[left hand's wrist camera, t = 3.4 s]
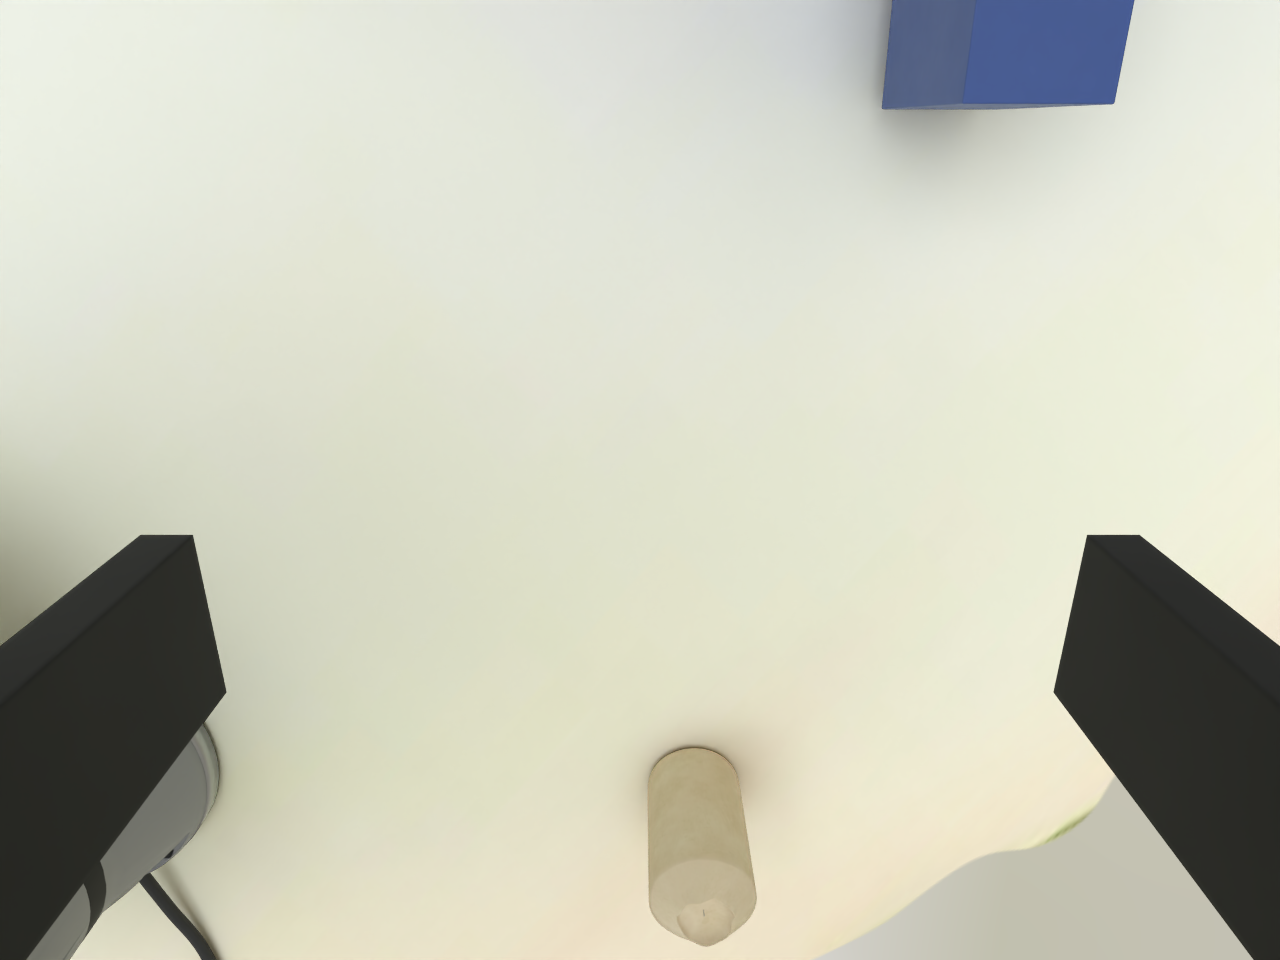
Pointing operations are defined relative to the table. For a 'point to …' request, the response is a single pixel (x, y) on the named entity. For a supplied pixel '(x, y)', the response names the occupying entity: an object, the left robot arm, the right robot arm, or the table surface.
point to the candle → (698, 847)
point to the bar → (1004, 53)
